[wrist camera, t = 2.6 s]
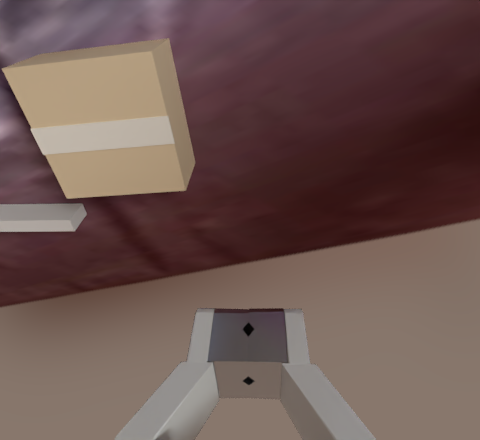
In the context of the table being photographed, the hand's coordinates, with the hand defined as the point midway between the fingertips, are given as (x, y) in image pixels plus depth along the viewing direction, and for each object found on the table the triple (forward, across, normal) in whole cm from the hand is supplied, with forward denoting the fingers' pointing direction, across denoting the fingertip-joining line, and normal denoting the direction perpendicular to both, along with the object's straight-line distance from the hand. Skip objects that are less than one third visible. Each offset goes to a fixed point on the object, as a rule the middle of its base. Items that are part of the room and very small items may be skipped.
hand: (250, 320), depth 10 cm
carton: (+18, +10, 0) cm, 21 cm away
